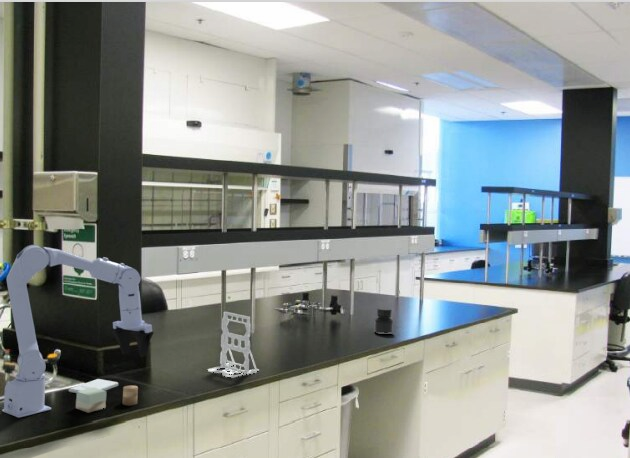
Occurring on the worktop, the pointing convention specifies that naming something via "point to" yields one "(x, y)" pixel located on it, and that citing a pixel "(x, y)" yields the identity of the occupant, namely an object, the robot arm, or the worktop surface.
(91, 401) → the slab upper
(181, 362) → the worktop surface
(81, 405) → the slab lower
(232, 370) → the grey upright openwork frame
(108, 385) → the external hard drive
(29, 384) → the robot arm
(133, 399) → the beech cylinder
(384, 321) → the ink bottle
